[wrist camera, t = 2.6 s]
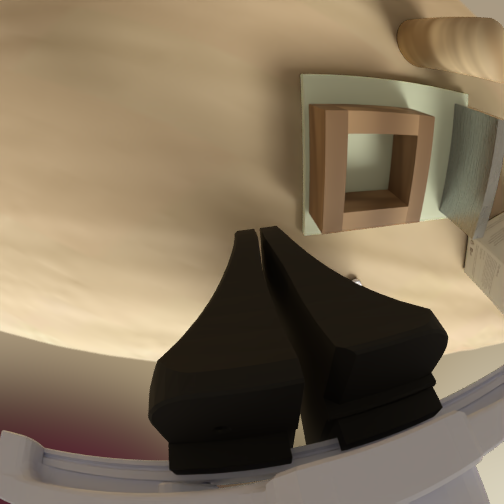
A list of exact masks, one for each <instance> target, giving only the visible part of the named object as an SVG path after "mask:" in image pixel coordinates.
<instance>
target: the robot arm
mask: <svg viewBox="0 0 504 504" xmlns="http://www.w3.org/2000/svg"><path fill="white" fill-rule="evenodd" d="M234 235H235V240H234V246H233V250H232V253H231V256H230V259H229V262H228V265H227V268H226V270H225V272H224V275H223V277H222V279H221V281H220V283H219V285H218V287H217V289H216V291H215V293H214V294H213V296H212V298H211V300H210V301H209V303H208V304H207V306H206V307H205V309H204V310H203V312H202V313H201V314H200V316H199V317H198V318H197V320H196V321H195V322H194V323H193V325H192V326H191V327H190V328H189V329H188V331H187V332H186V333H185V334H184V335H183V336H182V338H181V339H180V340H179V341H178V342H177V343H176V344H175V345H174V346H173V347H172V348H171V349H170V350H168V351H167V352H166V353H165V354H164V355H163V356H162V357H161V358H160V359H159V360H158V361H157V364H156V367H155V370H154V374H153V378H152V382H151V386H150V393H149V413H148V418H149V420H150V422H151V424H152V425H153V426H154V427H155V428H156V429H157V430H158V431H159V433H160V434H161V435H162V436H163V437H164V438H165V439H166V440H167V441H168V442H169V461H159V460H158V461H157V460H130V459H115V458H105V457H96V456H88V455H81V454H74V453H68V452H62V451H57V450H52V449H47V448H43V446H42V445H40V444H39V443H38V442H36V441H35V440H33V439H31V438H29V437H26V436H24V435H20V434H16V433H13V432H9V431H4V430H3V431H2V434H1V438H0V498H1V499H3V500H5V501H7V502H9V503H11V504H490V502H489V499H488V496H487V494H486V491H485V488H484V485H483V483H482V480H481V478H480V475H479V473H478V470H477V468H476V465H477V464H478V463H479V462H480V461H481V460H482V458H483V456H485V455H486V454H487V453H489V452H490V451H492V450H493V449H494V448H496V447H497V446H498V445H500V444H501V443H502V442H503V441H504V365H503V366H501V367H500V368H498V369H497V370H495V371H493V372H491V373H490V374H488V375H486V376H485V377H483V378H481V379H479V380H478V381H476V382H474V383H472V384H470V385H469V386H467V387H465V388H463V389H461V390H459V391H457V392H455V393H453V394H451V395H449V396H447V397H445V398H443V399H441V400H439V398H438V396H437V395H436V392H435V390H434V389H433V386H434V385H435V384H436V380H435V378H434V376H433V375H432V373H431V372H432V371H433V369H434V368H435V366H436V365H437V363H438V361H439V360H440V358H441V357H442V355H443V353H444V351H445V349H446V347H447V343H448V335H447V333H446V331H445V330H444V328H443V327H442V325H441V324H440V322H439V321H438V319H437V318H436V317H435V315H434V314H433V312H432V311H431V310H430V309H428V308H424V307H420V306H416V305H413V304H409V303H405V302H402V301H399V300H396V299H393V298H390V297H387V296H385V295H382V294H379V293H377V292H375V291H372V290H370V289H368V288H365V287H363V286H362V284H361V283H360V281H359V280H358V279H353V280H352V281H351V280H349V279H347V278H345V277H344V276H342V275H340V274H338V273H337V272H335V271H333V270H332V269H330V268H328V267H327V266H325V265H324V264H322V263H321V262H320V261H318V260H317V259H315V258H314V257H313V256H311V255H310V254H309V253H307V252H306V251H305V250H304V249H302V248H301V247H300V246H299V245H298V244H296V243H295V242H294V241H293V240H292V239H291V238H290V237H288V236H287V235H286V234H285V233H284V232H283V231H282V230H281V229H279V228H278V227H277V226H273V227H266V228H260V237H261V252H262V264H261V256H260V249H259V242H258V236H257V234H256V232H255V230H254V229H250V230H243V231H237V232H236V233H235V234H234ZM262 267H263V270H262ZM300 414H301V419H302V424H303V430H304V435H305V441H306V445H305V446H300V447H295V448H293V444H294V437H295V430H296V429H298V423H299V416H300ZM269 479H270V480H269ZM263 480H266V481H263ZM255 481H261V482H256V483H251V484H245V485H239V486H233V487H226V488H219V487H217V486H216V485H227V484H238V483H247V482H255Z"/></svg>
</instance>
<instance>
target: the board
mask: <svg viewBox="0 0 504 504" xmlns="http://www.w3.org/2000/svg"><path fill="white" fill-rule="evenodd" d="M300 81H301V106H302V145H303V224H302V232H303V234H304V236H309V235H316V234H322V233H321V231H320V230H319V228H318V227H317V225H316V224H315V222H314V220H313V219H312V217H311V216H310V214H309V171H310V155H309V104H359V105H377V106H391V107H402V108H411V109H414V110H417V111H420V112H423V113H426V114H428V115H431V116H434V117H435V123H434V134H433V143H432V152H431V159H430V166H429V173H428V179H427V185H426V191H425V197H424V202H423V207H422V212H421V217H420V221H428V220H436V219H445V218H447V217H446V216H445V215H444V214H443V213H441V212H440V211H439V208H440V203H441V199H442V194H443V189H444V184H445V178H446V172H447V166H448V160H449V153H450V146H451V138H452V129H453V119H454V106H455V104H460V105H465V106H468V94H464V93H460V92H456V91H452V90H448V89H443V88H438V87H433V86H428V85H423V84H417V83H411V82H405V81H398V80H390V79H382V78H373V77H362V76H349V75H330V74H300ZM392 146H393V134H348V150H347V171H346V188H345V193H347V192H360V191H373V190H388V185H389V176H390V167H391V157H392ZM420 221H419V222H420Z"/></svg>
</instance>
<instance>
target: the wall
mask: <svg viewBox="0 0 504 504" xmlns="http://www.w3.org/2000/svg"><path fill="white" fill-rule="evenodd" d="M503 157H504V120H503V119H501V118H498V117H496V116H493V115H491V114H488V113H485V112H482V111H480V110H477V109H474V108H471V107H468V106H465V105H460V104H455V106H454V119H453V129H452V138H451V146H450V153H449V160H448V166H447V172H446V178H445V184H444V189H443V194H442V199H441V203H440V208H439V211H440V212H441V213H443V214H444V215H445V216H446V217H447V218H449V219H450V220H451V221H452V222H453V223H454V224H456V225H457V226H458V227H459V228H460V229H461V230H462V231H464V232H465V233H466V234H467V235H468V236H469V237H470V238H471V239H472V240H473V239H478V238H483V236H484V233H485V230H486V226H487V223H488V220H489V216H490V213H491V209H492V206H493V202H494V198H495V194H496V190H497V186H498V182H499V177H500V173H501V168H502V162H503Z"/></svg>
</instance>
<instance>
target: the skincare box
mask: <svg viewBox="0 0 504 504" xmlns="http://www.w3.org/2000/svg"><path fill="white" fill-rule="evenodd" d="M464 272H465V273H466V274H467V275H468V276H469V277H470V278H471V279H472V280H473V282H474V283H475V284H476V285H477V286H478V287H479V288H480V289H481V290H482V291H483V292H484V293H485V294H486V296H487V297H488V298H489V299H490V300H491V301H492V302H493V303H494V305H495V306H496V307H497V308H498V309H499V310H500V312H501V313H502V314H503V315H504V212H503V213H501V214H499V215H498V216H496V217H494V218H493V219H491V220H489V221H488V223H487V226H486V230H485V233H484V236H483V238H478V239H473V240H472V239H471V238H470V237H469V236H468V244H467V252H466V260H465V268H464Z"/></svg>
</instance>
